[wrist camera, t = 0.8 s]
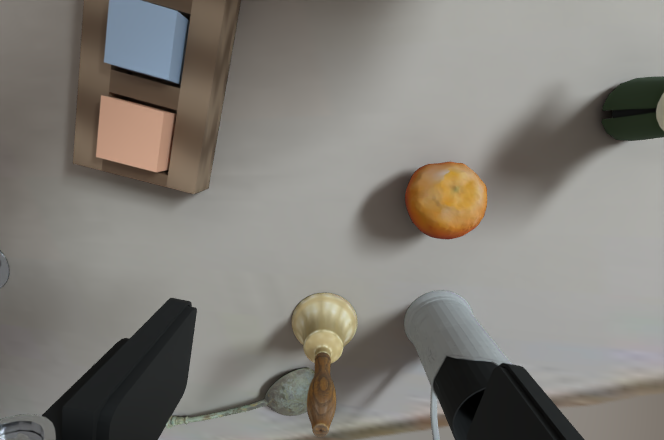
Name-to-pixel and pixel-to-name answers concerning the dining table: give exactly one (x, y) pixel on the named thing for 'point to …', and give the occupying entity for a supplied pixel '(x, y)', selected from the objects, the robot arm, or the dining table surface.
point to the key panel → (161, 91)
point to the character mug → (636, 110)
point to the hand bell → (323, 349)
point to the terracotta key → (135, 134)
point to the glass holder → (452, 356)
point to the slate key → (146, 39)
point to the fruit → (446, 200)
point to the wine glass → (3, 270)
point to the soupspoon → (269, 398)
